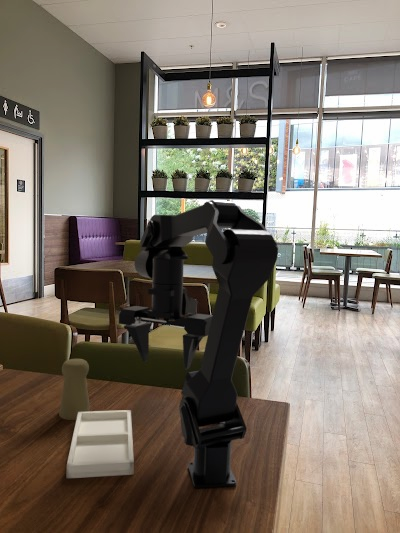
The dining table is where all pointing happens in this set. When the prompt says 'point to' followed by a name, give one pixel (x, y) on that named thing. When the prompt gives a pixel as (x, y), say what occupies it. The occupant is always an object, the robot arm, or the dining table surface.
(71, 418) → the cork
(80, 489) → the dining table surface
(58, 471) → the dining table surface
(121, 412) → the tray
